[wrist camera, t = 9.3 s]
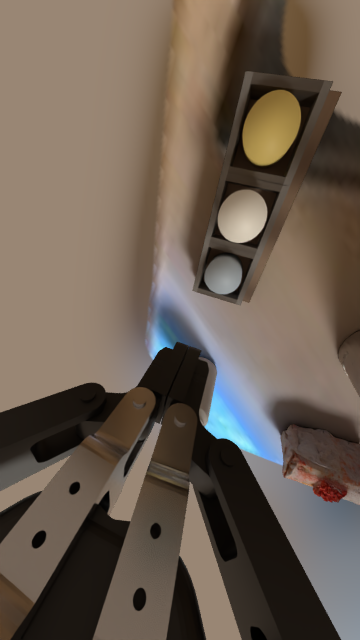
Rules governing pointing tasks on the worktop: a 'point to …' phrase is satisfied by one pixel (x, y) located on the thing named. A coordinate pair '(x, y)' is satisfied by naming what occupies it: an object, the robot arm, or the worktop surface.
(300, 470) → the food item
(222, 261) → the button slate
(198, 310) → the worktop surface
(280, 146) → the button mustard
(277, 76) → the wooden compartment tray
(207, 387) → the beverage can
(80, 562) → the robot arm
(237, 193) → the button cream
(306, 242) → the worktop surface
